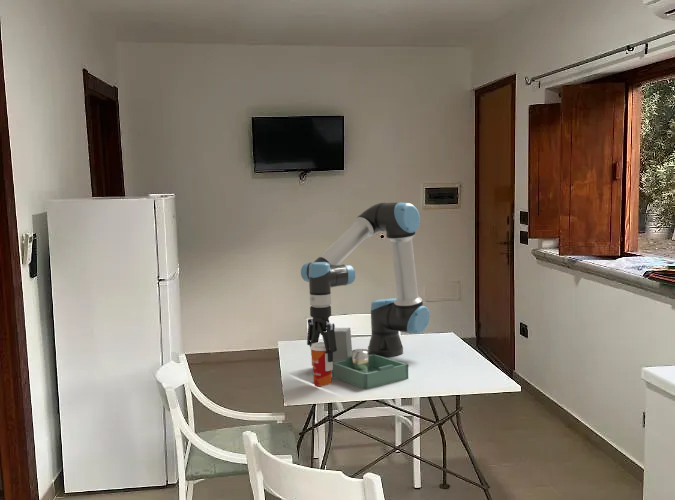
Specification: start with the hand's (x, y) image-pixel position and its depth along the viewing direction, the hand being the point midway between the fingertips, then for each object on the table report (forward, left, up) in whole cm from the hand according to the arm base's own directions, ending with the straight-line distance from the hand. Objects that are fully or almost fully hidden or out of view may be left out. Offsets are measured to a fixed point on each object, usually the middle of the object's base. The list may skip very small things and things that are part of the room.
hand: (322, 367), depth 236 cm
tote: (+6, +17, -6) cm, 19 cm away
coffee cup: (0, 0, -6) cm, 6 cm away
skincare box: (-14, +18, -7) cm, 24 cm away
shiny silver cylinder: (+1, +17, -5) cm, 18 cm away
